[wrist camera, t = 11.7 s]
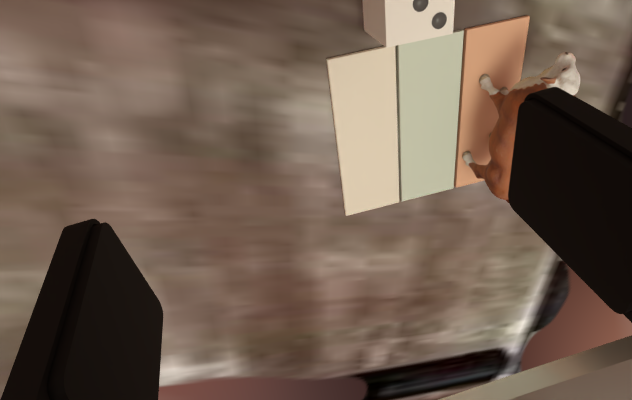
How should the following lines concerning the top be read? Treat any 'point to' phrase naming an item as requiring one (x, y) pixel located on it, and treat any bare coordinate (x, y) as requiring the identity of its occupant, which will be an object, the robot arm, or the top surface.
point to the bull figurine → (505, 126)
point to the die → (407, 20)
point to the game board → (419, 111)
